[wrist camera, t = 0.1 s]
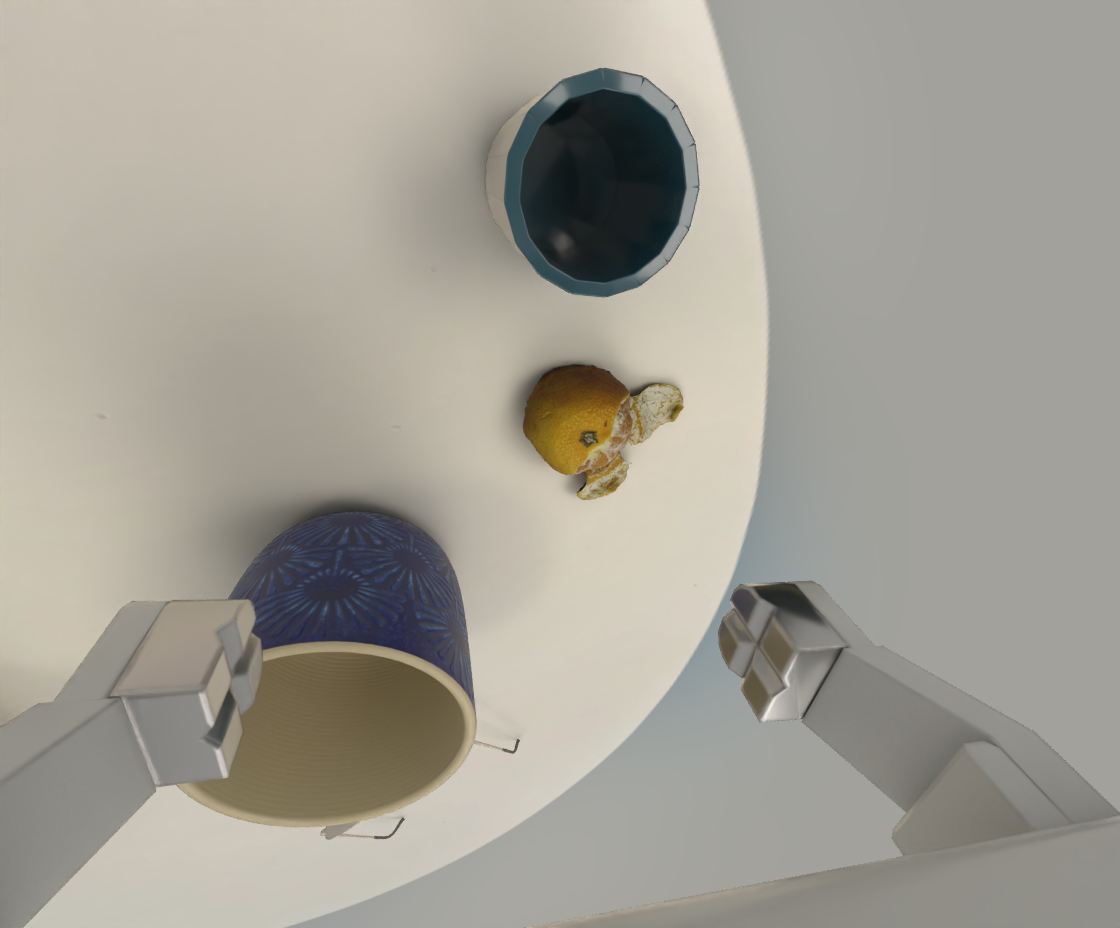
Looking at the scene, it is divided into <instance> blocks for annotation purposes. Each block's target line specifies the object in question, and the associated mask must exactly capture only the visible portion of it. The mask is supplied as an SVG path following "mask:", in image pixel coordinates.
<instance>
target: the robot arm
mask: <svg viewBox="0 0 1120 928" xmlns="http://www.w3.org/2000/svg"><path fill="white" fill-rule="evenodd" d="M730 601H731V604H732V606H733V609H732V610H731V611H730V612H729V613H727V614H726V615H725V616H724V617H723V618H722V621H721V624H720V627H719V631H718V637H719V647H720V651H721V654H722V657H723V659H724V661H725V663H726V664H727V666H728V668H729V669H730V670H732V671H733V672H734V673H736V674H737V675H738V676H740V677H741V678H742V683H741V691H742V693H743V694H744V696H745V698H746V700H747V701H748V703H749V705H750V706H751V708H752V710H753V712H754V713H755V715H756V717H757V719H758V720H759V722H772V721H785V720H799V719H803V720H802V723H804V724H805V725H806V726H807V727H808V728H809V729H810V730H812V731H813V732H814V733H815V734H816V735H817V736H819V737H820V738H821V739H822V740H823V741H824V742H826V743H827V744H828V745H829V746H830V747H831V748H832V749H834V750H835V751H836V752H837V753H838V754H840V755H841V756H842V757H843V758H844V759H845V760H846V761H848V762H849V763H850V764H851V765H852V766H853V767H854V768H856V769H857V770H858V771H859V772H860V773H861V774H862V775H864V776H865V777H866V778H867V779H868V780H869V781H871V782H872V783H873V784H874V785H875V786H876V787H878V788H879V789H880V790H881V791H882V792H883V793H884V794H886V795H887V796H888V797H889V798H890V799H891V800H893V801H894V802H895V803H896V804H897V805H898V806H899V807H901V808H902V809H903V810H904V811H905V812H906V814H905V815H904V816H903V818H902V819H901V820H900V821H899V823H898V824H897V825H896V826H895V827H894V828H893V833H892V839H893V841H894V842H895V844H896V846H897V847H898V848H899V850H900V852H901V853H902V854H903V856H901V857H896V858H890V859H886V860H880V861H875V862H869V863H864V864H859V865H853V866H849V867H843V868H838V869H833V870H827V871H822V872H816V873H812V874H806V875H801V876H795V877H790V878H785V879H779V880H774V881H769V882H763V883H758V884H753V885H748V886H742V887H737V888H733V889H726V890H721V891H716V892H711V893H705V894H700V895H695V896H690V897H684V898H679V899H673V900H668V901H663V902H658V903H653V904H647V905H642V906H636V907H631V908H626V909H621V910H615V911H610V912H605V913H599V914H594V915H589V916H584V917H578V918H573V919H568V920H562V921H557V922H552V923H547V924H542V925H536V926H531V927H525V928H1120V813H1119V812H1118V811H1117V810H1116V809H1115V808H1114V807H1113V806H1112V805H1111V804H1110V803H1109V802H1108V801H1107V800H1106V799H1105V798H1104V797H1102V795H1101V794H1100V793H1099V792H1098V791H1097V790H1095V789H1094V788H1093V787H1092V786H1091V785H1090V784H1089V783H1088V782H1087V781H1086V780H1085V779H1084V778H1083V777H1082V776H1081V775H1080V774H1079V773H1078V772H1077V771H1075V769H1074V768H1073V767H1071V766H1070V765H1069V764H1068V763H1067V762H1066V761H1065V760H1064V759H1063V758H1062V757H1061V756H1060V755H1059V754H1058V753H1057V752H1056V751H1055V750H1054V749H1052V747H1051V746H1049V744H1047V743H1046V742H1045V741H1044V740H1043V739H1042V738H1041V737H1040V736H1039V735H1038V734H1037V733H1036V732H1034V731H1033V730H1031V729H1029V728H1027V727H1025V726H1024V725H1022V724H1020V723H1018V722H1017V721H1015V720H1013V719H1011V718H1010V717H1008V716H1006V715H1004V714H1002V713H1001V712H999V711H997V710H995V709H994V708H992V707H990V706H988V705H987V704H985V703H983V702H981V701H980V700H978V699H976V698H974V697H972V696H971V695H969V694H967V693H965V692H963V691H962V690H960V689H958V688H957V687H955V686H953V685H951V684H949V683H948V682H946V681H944V680H942V679H940V678H939V677H937V676H935V675H934V674H932V673H930V672H928V671H926V670H925V669H923V668H921V667H919V666H917V665H916V664H914V663H912V662H910V661H909V660H907V659H905V658H904V657H901V656H900V655H898V654H896V653H895V652H893V651H891V650H889V649H887V648H886V647H884V646H875V645H874V644H873V643H872V641H870V640H869V638H868V637H867V636H866V635H865V634H864V633H863V632H862V630H861V629H860V628H859V627H858V626H857V625H856V624H855V623H854V622H853V621H852V620H851V618H850V617H849V616H848V615H847V614H846V613H845V612H844V611H843V610H842V608H841V607H840V606H839V605H838V604H837V603H836V602H835V601H834V600H833V599H832V597H831V596H830V595H829V594H828V593H827V592H826V591H825V590H824V589H823V588H822V587H821V585H819V584H817V583H815V582H813V581H797V582H787V583H785V582H778V583H755V584H754V583H753V584H740V585H739V586H738V587H736V588H735V589H734V591H733V594H732V596H731V598H730ZM256 620H257V616H256V612H255V607H254V603H253V602H252V601H250V600H248V599H242V600H172V601H132V602H130V603H129V604H127V605H125V606H124V607H122V608H121V609H120V610H119V611H118V613H117V614H116V616H115V617H114V618H113V620H112V621H111V623H110V624H109V625H108V627H107V628H106V629H105V631H104V632H103V634H102V635H101V636H100V638H99V639H98V640H97V642H96V643H95V645H94V646H93V647H92V649H91V650H90V651H89V653H88V654H87V656H86V657H85V658H84V660H83V661H82V663H81V664H80V665H79V667H78V668H77V669H76V671H75V672H74V674H73V675H72V676H71V678H70V679H69V680H68V682H67V683H66V685H65V686H64V687H63V689H62V690H61V692H60V693H59V694H58V696H57V697H56V698H55V700H54V701H53V702H48V703H38V704H37V705H35V706H33V707H32V708H30V709H29V710H27V711H25V712H24V713H22V714H21V715H19V716H18V717H16V718H14V719H13V720H11V721H10V722H8V723H6V724H5V725H3V726H2V727H0V928H23V927H24V926H25V925H26V924H27V923H28V922H29V921H30V920H31V919H32V918H33V917H34V916H35V915H36V914H37V913H38V912H39V911H40V910H41V909H42V908H43V907H44V906H45V905H46V904H47V903H48V902H49V901H50V900H51V898H52V897H53V896H54V895H55V894H56V893H57V892H58V891H59V890H60V889H61V888H62V887H63V886H64V885H65V884H66V883H67V882H68V881H69V880H70V879H71V878H72V877H73V876H74V875H75V874H76V873H77V872H78V871H79V870H80V869H81V868H82V867H83V866H84V865H85V864H86V863H87V862H88V861H89V859H90V858H91V857H92V856H93V855H94V854H95V853H96V852H97V851H98V850H99V849H100V848H101V847H102V846H103V845H104V844H105V843H106V842H107V841H108V840H109V839H110V838H111V837H112V836H113V835H114V834H115V833H116V832H117V831H118V830H119V829H120V828H121V827H122V826H123V825H124V824H125V823H126V822H127V820H128V819H129V818H130V817H131V816H132V815H133V814H134V813H135V812H136V811H137V810H138V809H139V808H140V807H141V806H142V805H143V804H144V803H145V802H146V801H147V800H148V799H149V798H150V797H151V796H152V795H153V794H154V793H155V792H156V789H155V787H161V786H168V785H176V784H184V783H192V782H199V781H207V780H215V779H222V778H228V777H229V774H230V771H231V768H232V765H233V762H234V759H235V757H236V754H237V751H238V748H239V745H240V742H241V740H242V737H243V734H244V729H243V725H242V720H241V715H242V714H243V713H244V712H245V711H246V710H248V709H249V708H250V707H251V706H252V705H253V704H254V702H255V699H256V696H257V693H258V690H259V687H260V681H261V675H262V669H263V649H262V643H261V639H260V638H258V637H257V636H256V635H254V634H253V633H252V630H253V627H254V625H255V622H256Z"/></svg>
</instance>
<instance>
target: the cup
mask: <svg viewBox="0 0 1120 928" xmlns="http://www.w3.org/2000/svg"><path fill="white" fill-rule="evenodd" d="M675 104H676V103H675V102H674V101H673V100H672V99H671V98H669V97H668V96H667V95H666V94H665V93H663V92H662V91H661V90H660V89H659V88H657V87H656V86H655V85H654V84H653V83H652V82H650V81H649V80H648V79H647V78H646V77H643V76H641V75H637V74H632V73H627V72H623V71H618V70H613V69H609V68H599V69H595V70H592V71H589V72H585V73H582V74H579V75H575V76H572V77H568V78H565V79H563V80H561V81H559V82H558V83H556V84H555V85H553V86H552V87H550V88H549V89H547V90H546V91H544V92H543V93H542V94H540V95H539V96H537V97H536V98H534V99H533V100H531V101H530V102H528V103H527V104H525V105H524V106H523V107H522V108H521V109H520V110H518V111H517V112H516V113H515V114H514V115H513V116H511V117H510V119H509V120H508V121H507V122H506V123H504V124H503V125H502V127H501V128H500V130H499V132H498V134H497V136H496V138H495V139H494V141H493V144H492V146H491V149H490V152H489V155H488V158H487V164H486V172H485V187H486V188H485V190H486V196H487V200H488V204H489V207H490V210H491V213H492V216H493V219H494V221H495V223H496V224H497V226H498V227H499V228H500V230H501V231H502V233H503V234H504V235H505V236H506V238H507V239H508V240H509V242H510V243H511V244H512V245H513V247H514V248H515V249H516V250H517V251H518V252H519V253H520V254H521V256H522V257H523V258H524V259H525V260H526V261H527V262H528V264H529V265H530V266H531V267H532V268H533V269H534V270H535V271H536V273H537V274H539V275H540V276H541V277H542V278H544V279H546V280H547V281H549V282H551V283H553V284H554V285H556V286H558V287H559V288H561V289H563V290H565V291H566V292H568V293H571V294H576V295H585V296H595V297H609V296H612V295H615V294H618V293H621V292H625V291H628V290H631V289H634V288H637V287H639V286H641V285H642V284H643V283H645V282H646V281H647V280H648V279H649V278H651V277H652V276H653V275H654V274H656V273H657V272H658V271H659V270H661V269H662V268H663V267H664V266H666V265H667V264H668V262H669V261H670V260H671V258H672V257H673V255H674V253H675V252H676V250H677V249H678V247H679V245H680V244H681V242H682V240H683V239H684V237H685V235H686V234H687V232H688V231H689V228H690V226H691V221H692V217H693V213H694V209H695V204H696V200H697V196H698V192H699V175H698V164H697V153H696V144H695V141H694V139H693V137H692V135H691V133H690V130H689V128H688V126H687V124H686V122H685V120H684V118H683V116H682V114H681V112H680V110H679V108H678V106H677V105H675Z"/></svg>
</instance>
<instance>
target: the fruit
mask: <svg viewBox="0 0 1120 928" xmlns="http://www.w3.org/2000/svg"><path fill="white" fill-rule="evenodd" d="M682 403H683V398H682V396H681V392H680V390H679V389H678V388H677V387H675V386H672V385H668V384H652V385H649V386H648V388H646V389H645V390H643V391H642V392H641V394H639V395H636V396H630V391H629V390H627V389H626V387H625V386H624V385H623V384H622V383H621V382H620V381H618V380H617V379H616V378H615V377H614V376H613V375H611V373H610V372H609V371H606V370H604V369H600V368H597V367H595V366H594V365H593V366H585V365H570V366H563V367H557V368H554V369H553V370H551V371H549V372H547V373H546V374H544V375H543V377H542V378H541V379H540V381H539V382H538V384H537V385H536V386H535V388H534V391H533V393H532V395H531V396H530V397H529V399H528V401H527V407H526V408H525V417H524V423H523V430H524V433H525V436H526V437H527V438H528V439H529V440H530V441H531V443H532V444H533V445H534V447H535V449H536V450H537V452H538V453H539V454H540V455H541V456H542V457H543V459H544V460H545V461H546V462H547V463H548V464H549V465H550V466H551V467H552V468H553V469H554V470H556V471H558V472H560V473H562V474H565V475H572V474H575V475H576V474H580V473H582V472H584V473H585V474H586V477H587V482H586V483H585V484H584V486H583V487H582V488H580V490H579V491H578V492H577V496H578V497H579V498H580V499H583V500H591V499H596V498H598V497H602V496H604V495H607V494H609V493H612V492H614V491H616V489H617V487H619V485H620V484H621V483H622V482H623V481H624V480H625V478H626V473H627V470H628V469H629V467H628V464H631V462H626V461H624V460H623V459H622V458H621V455H620V452H619V450H620V449H621V448H623V447H625V445H626V444H627V441H628V442H630V444H631V445H636V444H638V443H642V442H644V440H646V439H647V438H650V436H651V435H652V433H653V432H654V430H655V429H656V428H657V427H658V426H660V425H662V424H664V423H666V422H673V421H675V419H676V418H677V416H678V414H679V412H680V411H681V410H682V409H683V405H682Z"/></svg>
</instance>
